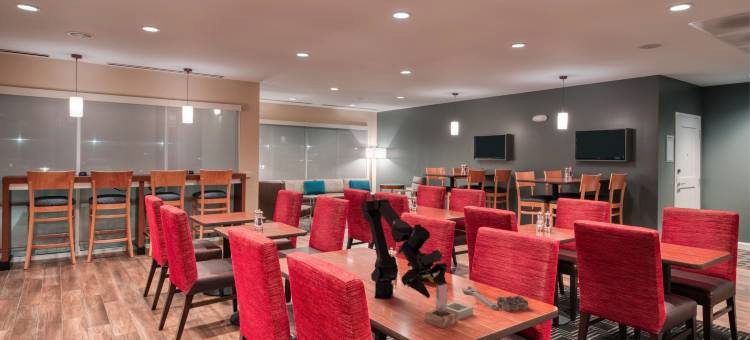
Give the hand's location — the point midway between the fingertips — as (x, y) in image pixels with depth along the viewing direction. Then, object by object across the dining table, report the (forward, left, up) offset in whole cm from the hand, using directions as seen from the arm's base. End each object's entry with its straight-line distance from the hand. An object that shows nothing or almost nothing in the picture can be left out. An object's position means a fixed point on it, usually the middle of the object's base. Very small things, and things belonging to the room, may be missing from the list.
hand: (438, 294), depth 153 cm
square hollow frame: (+7, +8, -9) cm, 14 cm away
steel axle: (+1, -1, -9) cm, 9 cm away
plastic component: (-5, +53, -9) cm, 54 cm away
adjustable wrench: (+16, +27, -9) cm, 32 cm away
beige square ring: (+1, -1, -9) cm, 9 cm away
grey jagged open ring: (+27, +19, -9) cm, 35 cm away
